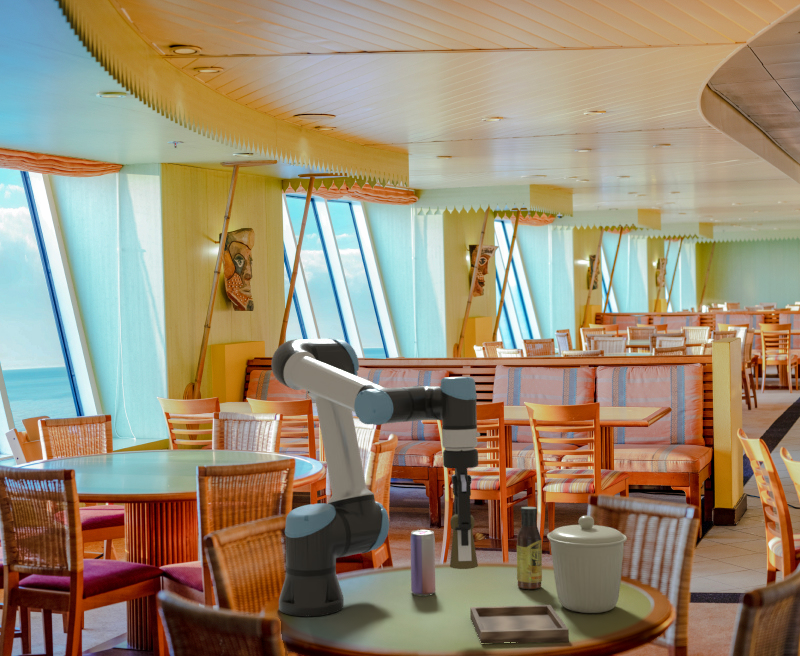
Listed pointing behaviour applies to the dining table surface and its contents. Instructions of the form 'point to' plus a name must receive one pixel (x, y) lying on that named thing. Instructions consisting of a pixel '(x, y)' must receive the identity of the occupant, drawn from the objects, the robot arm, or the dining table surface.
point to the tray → (518, 624)
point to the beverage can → (422, 562)
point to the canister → (587, 565)
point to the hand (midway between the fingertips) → (463, 557)
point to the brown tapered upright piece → (454, 551)
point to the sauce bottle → (529, 551)
